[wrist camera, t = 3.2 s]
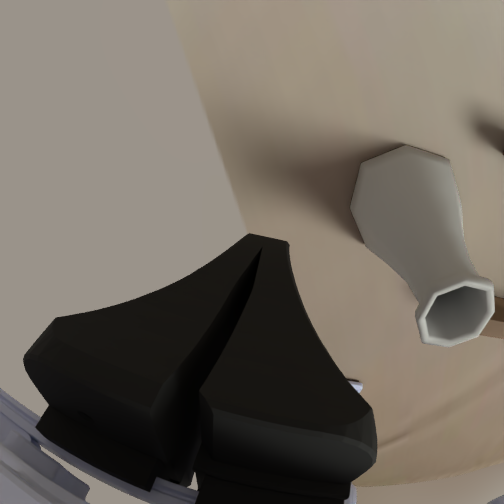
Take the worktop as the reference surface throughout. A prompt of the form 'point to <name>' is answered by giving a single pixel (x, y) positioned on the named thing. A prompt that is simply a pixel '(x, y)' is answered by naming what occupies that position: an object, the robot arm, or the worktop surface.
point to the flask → (423, 241)
